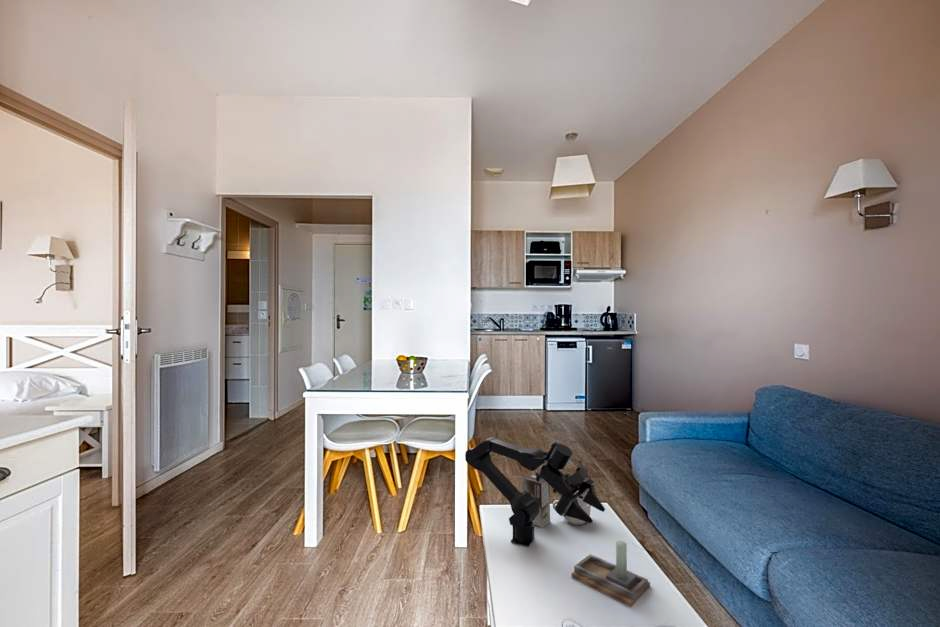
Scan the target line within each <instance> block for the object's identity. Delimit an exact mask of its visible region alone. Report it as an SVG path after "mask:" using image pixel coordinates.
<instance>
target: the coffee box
mask: <svg viewBox="0 0 940 627" xmlns="http://www.w3.org/2000/svg"><path fill="white" fill-rule="evenodd" d="M520 481H521V482H520V483H521V485H520V487H521V488H520V490H521V491H520V492H521V493H523V494H525V493H526V492H529V493H530V494H531V496H532V497H533V498H534V499H536V500H537V501H536V502H537V503H538V505H539V514H538V515H537V516H536V517H535V519H534V520H533V521H532V522H533V526H536V527H540V528H544V527H545V526H546V525H548V524H549V523H551V503H550V501H551V499H550V496H551V495H550V492H551V490H550V485H549V484H548V483H547V482H546V481H545V480H544V479H542V480H540V481H539V482H537V481H536V474H534V473H530V472H529V473H527V474H525V475H524V476H522V477H521V478H520Z"/></svg>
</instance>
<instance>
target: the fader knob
mask: <svg viewBox="0 0 940 627" xmlns="http://www.w3.org/2000/svg"><path fill="white" fill-rule="evenodd" d="M627 550H628V549H627V543H626V542H625V541H623V540H618V541H616V542H615V565H616V567H615V568H614V569H613V570H612V571H611V572H610V573H609V574H608V575H606V579H607V580H609V581H612V582H614V583H616V584H618V585H620V586H622V587H624V588H626V589H628V590H630V589H631V588H632V587H633V586H634V585H635V584H636V583H637V575H638V574H637V575H635V574H636V573H634V574H632V573H633V572H632V573H630V572H631V571H630V572H628V571H629V570H628V569H627V568H628V566H627V564H628V561H627V560H628V559H627V557H628V556H627V554H628V553H627V552H628V551H627ZM627 570H628V571H627Z"/></svg>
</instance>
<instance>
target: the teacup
mask: <svg viewBox="0 0 940 627" xmlns="http://www.w3.org/2000/svg"><path fill="white" fill-rule="evenodd" d="M583 499H584V498H583ZM583 499H581V498H579V497H578V498H577V500H578V504H579V506H580V507H581V508H582V509H583V510H584V511H585V512H586V513H587V514H588V515H589V516H590V517H591V508H592V506H591V505H589V504H587V503H585V502H583ZM559 500H560V499H555V500H554V501H553V502H552V508H553V510H554V511H555V512H556V509H555V506H556V505H557V503H558V501H559ZM565 513H566V512H565ZM565 513H564V514H565ZM564 514H563V515H562V516H561V517H563V519H565V520H566V522H568V523H569V524H573V525H575V526H576V525H577V526H580V525H584V524H585V523H586V522H585V521H582V520H579V519H576V518H572V517H569V516H564Z"/></svg>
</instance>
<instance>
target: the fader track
mask: <svg viewBox="0 0 940 627" xmlns="http://www.w3.org/2000/svg"><path fill="white" fill-rule="evenodd" d="M615 567H616V564H614V563H611V562H609V561H607V560H605V559H602V558H600V557H598V556H595V555H594V554H592V553H590V554H589V553H588V555H587V556H585V557H584V558H582V560H580V561H579V562H577V563H576V564H575V565H574V566H573V572H572V573H571V579H574V580H576V581H577V582H580V583H582V584H583V585H586V586H588V587H590V588H591V589H594V590H595V591H598V592H600V593H601V594H604V595H606V596H608V597H610V598H612V599H614V600H615V601H618V602H619V603H621V604H622V605H623V604H624V605H626V606H628V607H629V608H632V606H633V605H634V604H636V603H637V601H638V600H639V599H640V598H641V597H642V596H643V595H644V594H645V593H646V592H647V590H648V589H649V588H651V582H650V581H649V579H647V578H645V577H644V576H641V575H639V574H636V573H634V572H632V571H629V570H628V569H627V571H628V572H630V573H632V574H635V575H637V583H636V584H635V585H634V586H633V587H632V588H631V589H630V590H628V589H626V588H624V587H622V586H620V585H618V584H616V583H614V582H612V581H609V580H607V579H606V575H608V574H609V573H610V572H611V571H612V570H613V569H614V568H615Z"/></svg>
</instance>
